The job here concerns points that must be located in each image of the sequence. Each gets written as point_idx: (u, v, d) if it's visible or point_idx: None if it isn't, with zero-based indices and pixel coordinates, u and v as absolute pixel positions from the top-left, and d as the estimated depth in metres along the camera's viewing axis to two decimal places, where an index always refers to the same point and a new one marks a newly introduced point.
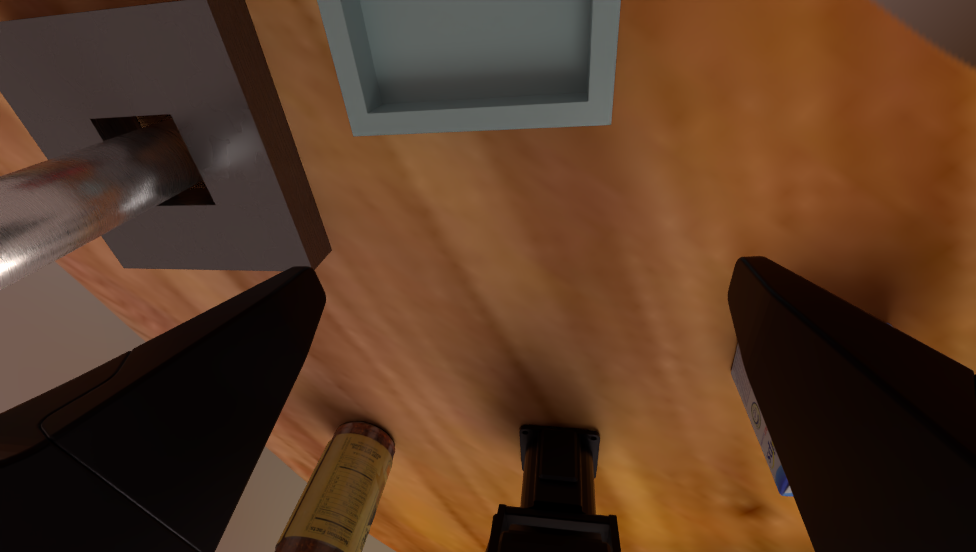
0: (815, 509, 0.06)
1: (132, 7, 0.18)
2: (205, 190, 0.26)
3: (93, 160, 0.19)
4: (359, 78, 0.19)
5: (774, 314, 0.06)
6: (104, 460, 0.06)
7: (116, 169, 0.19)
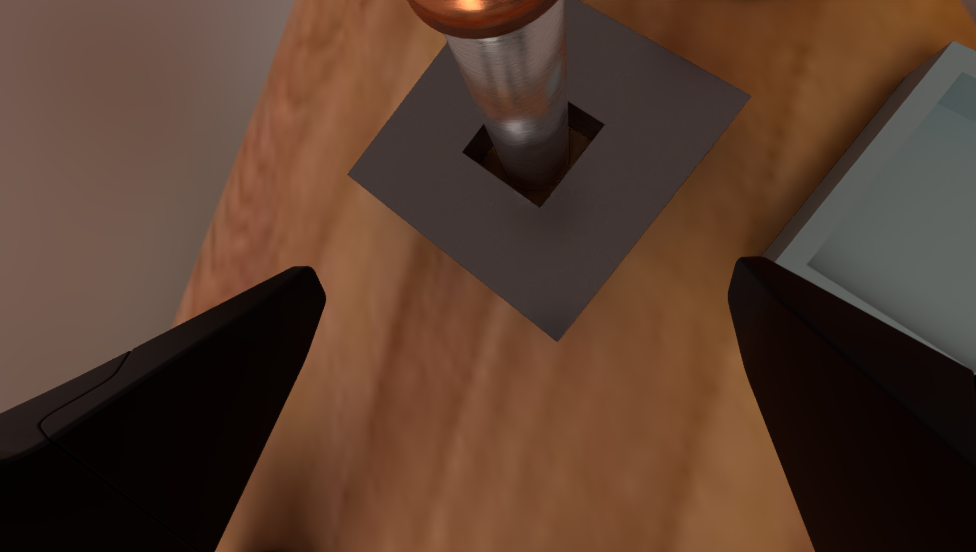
0: (815, 509, 0.06)
1: (677, 56, 0.19)
2: None
3: None
4: (828, 236, 0.17)
5: (774, 314, 0.06)
6: (104, 461, 0.06)
7: (567, 105, 0.17)
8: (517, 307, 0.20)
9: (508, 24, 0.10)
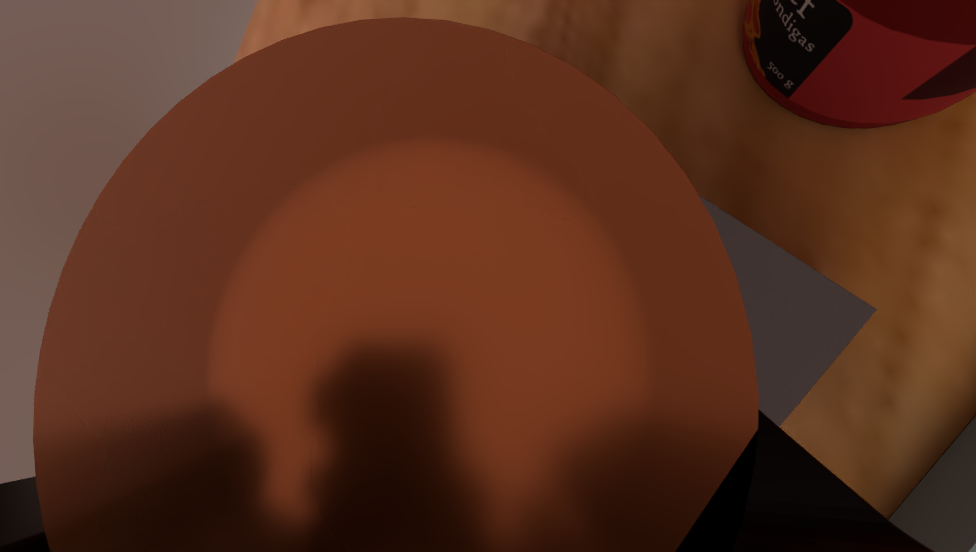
0: None
1: (755, 233, 0.13)
2: None
3: None
4: None
5: None
6: None
7: None
8: None
9: None
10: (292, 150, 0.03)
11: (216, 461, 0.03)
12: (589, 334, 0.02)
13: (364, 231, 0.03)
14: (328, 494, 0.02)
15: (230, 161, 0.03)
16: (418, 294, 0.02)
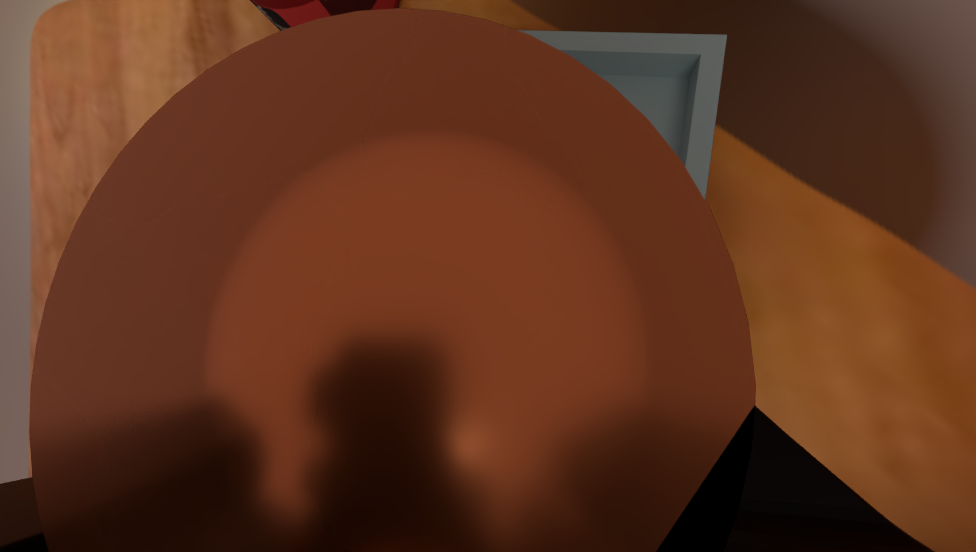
0: None
1: None
2: None
3: None
4: None
5: None
6: None
7: None
8: None
9: None
10: (289, 141, 0.03)
11: (213, 451, 0.03)
12: (586, 323, 0.02)
13: (361, 222, 0.03)
14: (324, 485, 0.02)
15: (229, 153, 0.03)
16: (416, 284, 0.02)
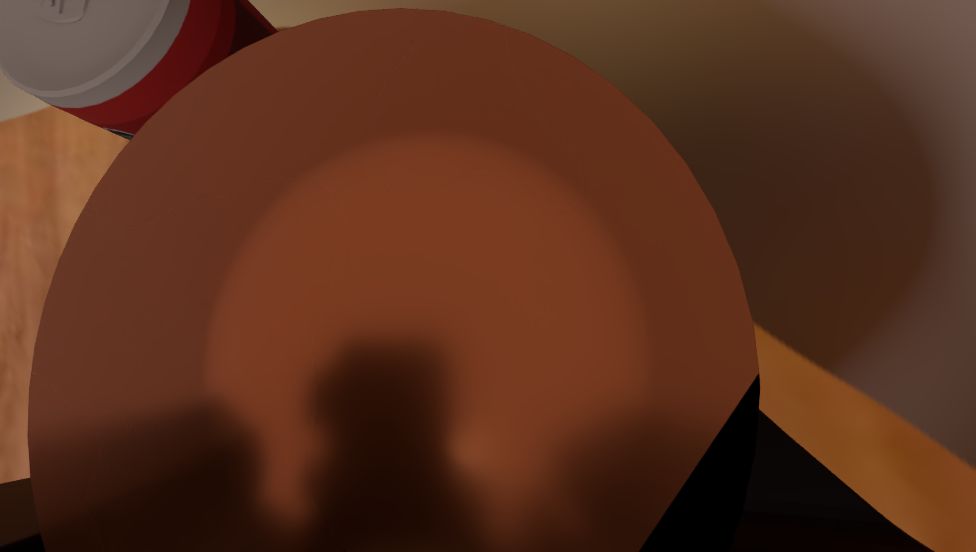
0: None
1: None
2: None
3: None
4: None
5: None
6: None
7: None
8: None
9: None
10: (289, 142, 0.03)
11: (212, 456, 0.03)
12: (589, 327, 0.02)
13: (362, 224, 0.03)
14: (325, 490, 0.02)
15: (228, 155, 0.03)
16: (417, 286, 0.02)
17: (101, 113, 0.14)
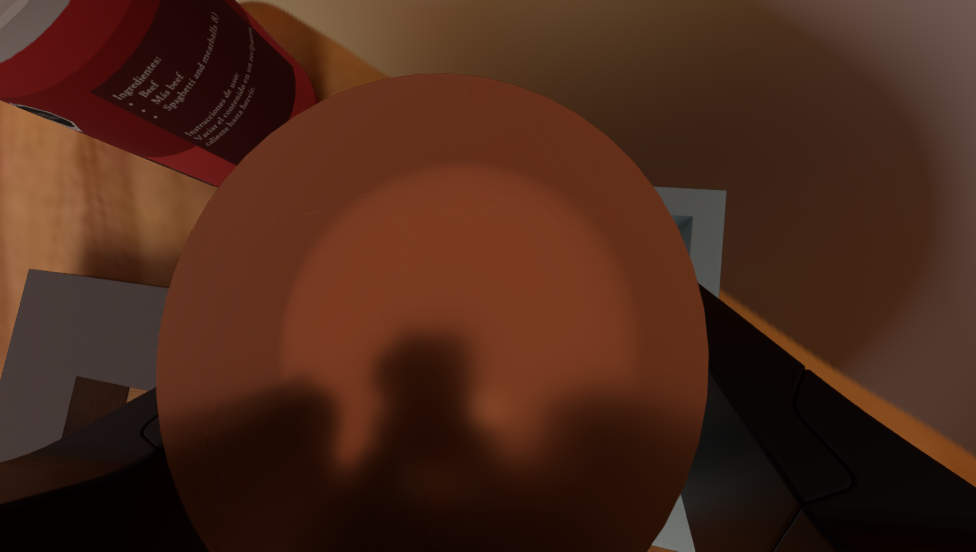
0: (690, 498, 0.06)
1: None
2: None
3: None
4: None
5: None
6: None
7: None
8: None
9: None
10: (362, 173, 0.04)
11: (306, 407, 0.03)
12: (589, 309, 0.03)
13: (419, 234, 0.03)
14: (394, 430, 0.03)
15: (313, 181, 0.04)
16: (462, 281, 0.03)
17: None
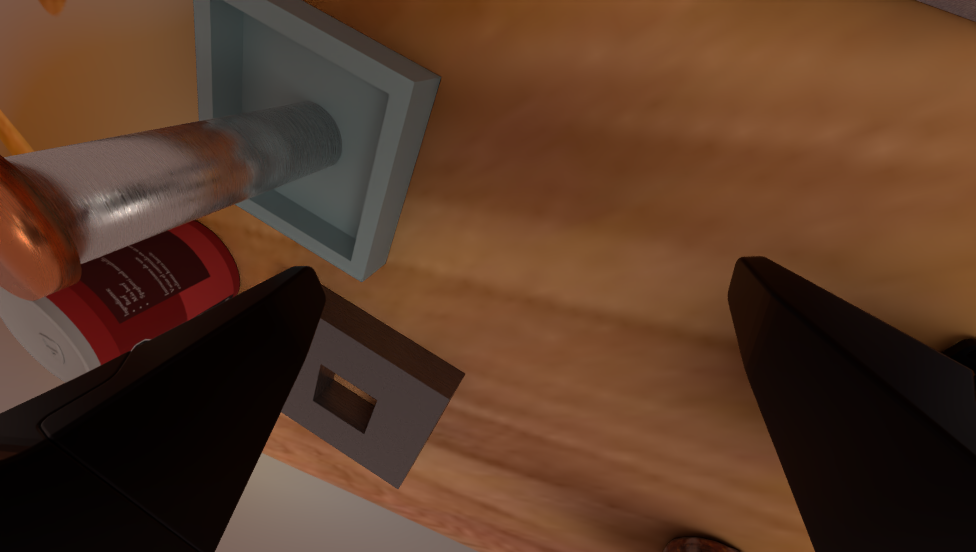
0: (815, 509, 0.06)
1: None
2: None
3: (204, 121, 0.17)
4: (330, 248, 0.24)
5: (774, 314, 0.06)
6: (104, 461, 0.06)
7: (225, 124, 0.18)
8: (437, 418, 0.28)
9: (58, 239, 0.12)
10: None
11: (2, 261, 0.12)
12: None
13: None
14: None
15: None
16: None
17: (107, 355, 0.25)
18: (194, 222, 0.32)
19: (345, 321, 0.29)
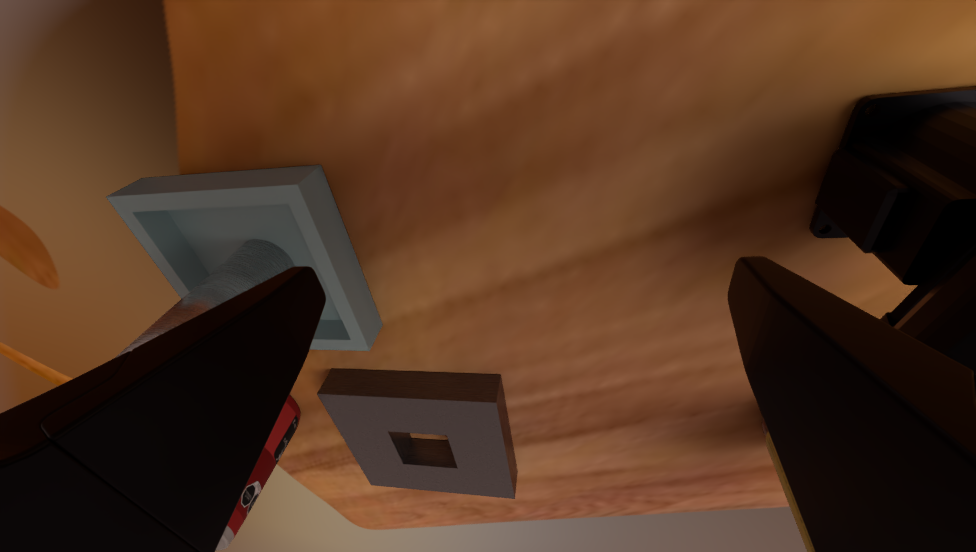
0: (815, 509, 0.06)
1: (334, 422, 0.34)
2: None
3: (174, 305, 0.21)
4: (331, 339, 0.28)
5: (774, 314, 0.06)
6: (104, 461, 0.06)
7: (189, 299, 0.21)
8: (498, 423, 0.31)
9: None
10: None
11: None
12: None
13: None
14: None
15: None
16: None
17: None
18: None
19: (383, 387, 0.32)
